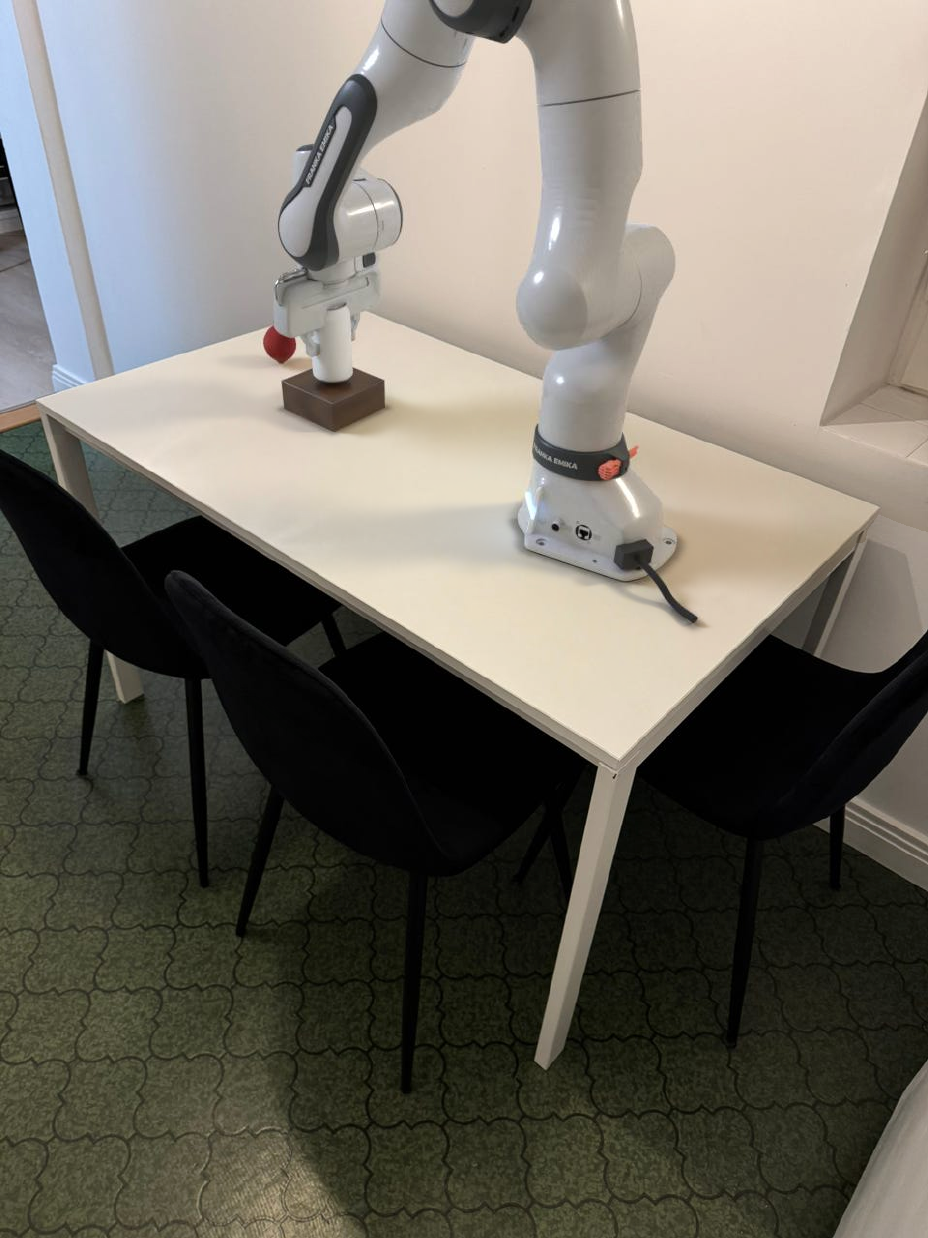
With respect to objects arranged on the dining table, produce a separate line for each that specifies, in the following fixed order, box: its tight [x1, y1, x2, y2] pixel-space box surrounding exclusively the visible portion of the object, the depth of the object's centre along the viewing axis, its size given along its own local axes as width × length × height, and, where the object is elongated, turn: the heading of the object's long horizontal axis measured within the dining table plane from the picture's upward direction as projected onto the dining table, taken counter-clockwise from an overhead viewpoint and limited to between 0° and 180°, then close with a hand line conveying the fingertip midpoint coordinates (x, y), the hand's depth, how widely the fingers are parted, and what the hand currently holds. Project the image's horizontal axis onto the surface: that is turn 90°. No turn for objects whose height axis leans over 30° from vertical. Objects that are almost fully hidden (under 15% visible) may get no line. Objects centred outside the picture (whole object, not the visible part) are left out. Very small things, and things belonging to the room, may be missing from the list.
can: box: [311, 302, 353, 383], centre depth 145 cm, size 6×6×12 cm
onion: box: [262, 320, 297, 364], centre depth 163 cm, size 6×6×8 cm
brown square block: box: [281, 367, 386, 433], centre depth 151 cm, size 12×12×5 cm
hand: (331, 347), depth 146 cm, fingers closed on can, 6 cm apart
